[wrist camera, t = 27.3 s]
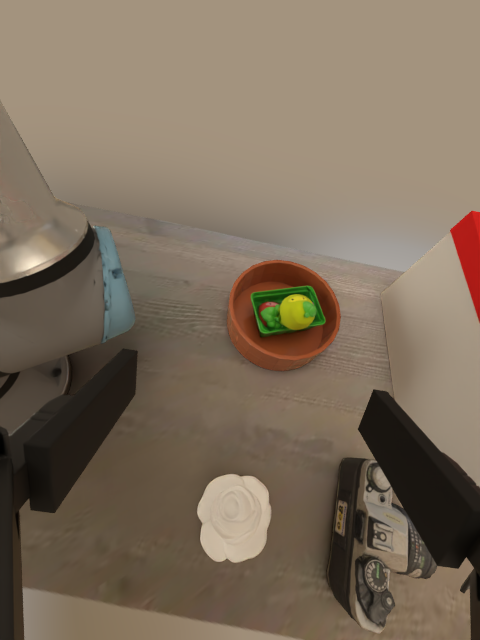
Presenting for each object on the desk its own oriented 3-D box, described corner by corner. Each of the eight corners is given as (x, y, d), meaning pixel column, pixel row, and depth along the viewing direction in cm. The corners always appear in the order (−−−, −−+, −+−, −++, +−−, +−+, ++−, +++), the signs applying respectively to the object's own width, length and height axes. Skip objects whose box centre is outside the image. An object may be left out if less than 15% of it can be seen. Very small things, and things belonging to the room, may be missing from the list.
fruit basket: (302, 299, 50) (326, 261, 40) (318, 341, 46) (348, 312, 36) (245, 307, 48) (255, 269, 38) (257, 352, 44) (271, 324, 34)
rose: (243, 601, 28) (176, 533, 29) (239, 582, 32) (180, 522, 33) (293, 510, 32) (231, 454, 34) (284, 503, 36) (229, 453, 38)
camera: (398, 618, 32) (473, 685, 23) (318, 588, 32) (360, 643, 23) (400, 474, 39) (458, 483, 30) (334, 452, 39) (372, 453, 30)
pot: (206, 333, 45) (206, 316, 40) (259, 266, 53) (265, 244, 47) (297, 392, 43) (311, 383, 37) (339, 312, 50) (356, 295, 44)
